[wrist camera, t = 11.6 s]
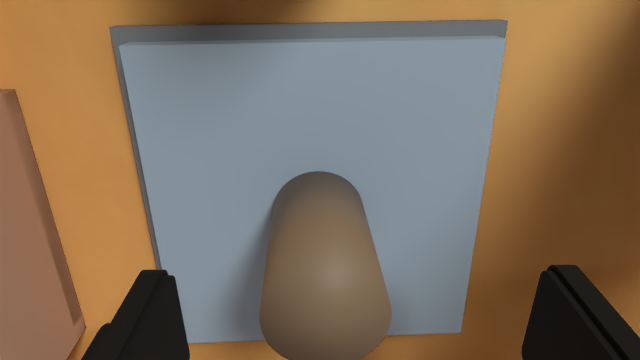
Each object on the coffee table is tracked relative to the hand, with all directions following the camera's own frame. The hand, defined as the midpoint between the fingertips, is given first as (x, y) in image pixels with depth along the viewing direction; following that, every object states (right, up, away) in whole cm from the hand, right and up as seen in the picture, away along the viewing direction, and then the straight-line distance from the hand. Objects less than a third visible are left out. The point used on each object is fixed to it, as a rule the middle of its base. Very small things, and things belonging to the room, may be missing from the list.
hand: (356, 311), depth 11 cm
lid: (-1, +2, +7) cm, 8 cm away
